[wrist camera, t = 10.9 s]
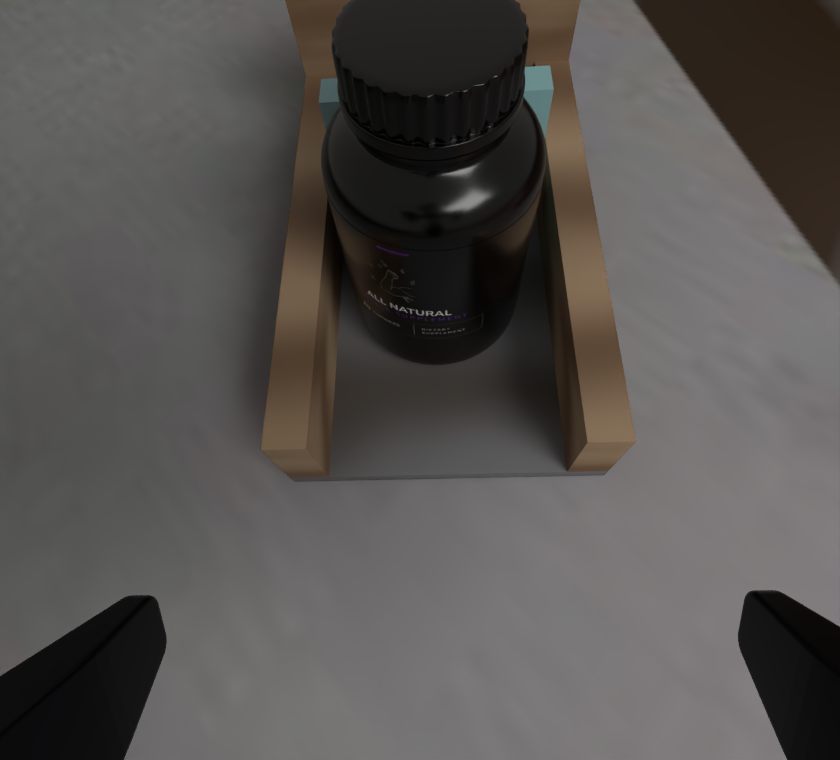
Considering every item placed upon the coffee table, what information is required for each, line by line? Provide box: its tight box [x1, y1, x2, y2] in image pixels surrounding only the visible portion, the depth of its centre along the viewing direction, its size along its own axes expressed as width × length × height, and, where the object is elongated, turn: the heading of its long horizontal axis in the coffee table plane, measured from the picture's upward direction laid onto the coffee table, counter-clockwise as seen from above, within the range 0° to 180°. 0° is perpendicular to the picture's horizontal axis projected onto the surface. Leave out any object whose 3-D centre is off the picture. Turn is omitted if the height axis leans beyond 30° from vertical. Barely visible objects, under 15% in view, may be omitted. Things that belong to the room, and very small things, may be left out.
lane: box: [261, 0, 636, 481], centre depth 21 cm, size 20×12×9 cm, turn 0°
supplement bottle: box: [321, 0, 546, 365], centre depth 18 cm, size 7×7×12 cm
